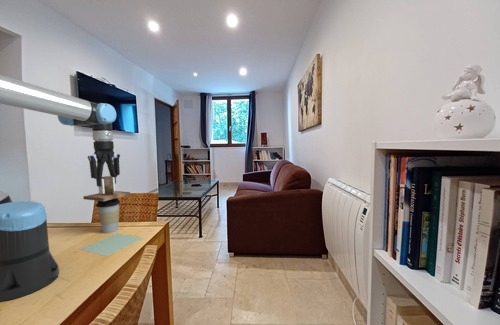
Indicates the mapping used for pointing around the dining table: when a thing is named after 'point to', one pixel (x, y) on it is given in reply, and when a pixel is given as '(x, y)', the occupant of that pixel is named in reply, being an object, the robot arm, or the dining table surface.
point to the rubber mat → (111, 244)
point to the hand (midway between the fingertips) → (107, 192)
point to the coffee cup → (109, 215)
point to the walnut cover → (107, 192)
